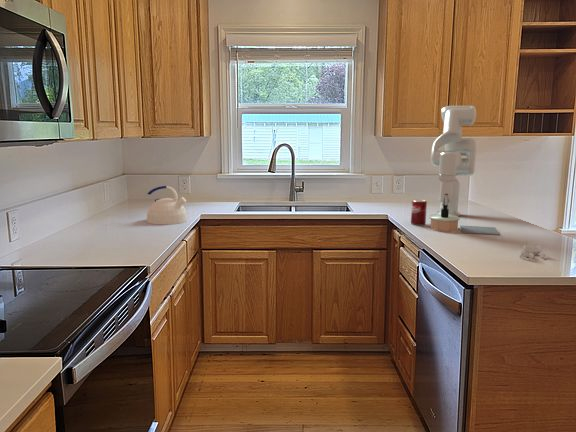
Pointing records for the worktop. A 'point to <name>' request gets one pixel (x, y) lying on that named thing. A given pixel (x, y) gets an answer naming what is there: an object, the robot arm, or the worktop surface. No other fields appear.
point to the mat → (479, 230)
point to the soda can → (418, 212)
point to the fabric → (532, 252)
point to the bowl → (444, 225)
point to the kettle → (167, 209)
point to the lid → (439, 218)
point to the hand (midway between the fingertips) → (444, 216)
